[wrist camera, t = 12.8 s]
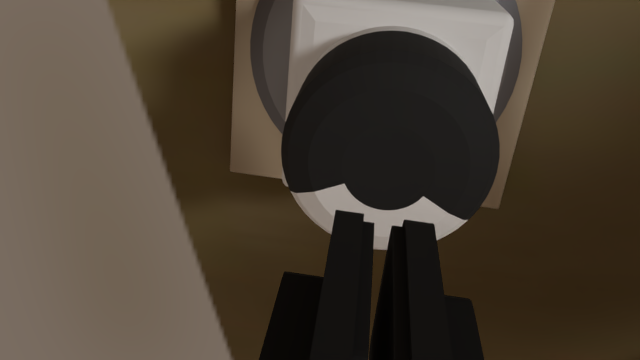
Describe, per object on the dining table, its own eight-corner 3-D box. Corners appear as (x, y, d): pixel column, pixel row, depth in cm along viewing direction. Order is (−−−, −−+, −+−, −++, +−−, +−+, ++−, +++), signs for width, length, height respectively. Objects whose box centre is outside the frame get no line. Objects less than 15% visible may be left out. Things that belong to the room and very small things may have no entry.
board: (571, -92, 25) (585, -91, 23) (494, 198, 31) (501, 216, 29) (247, -128, 25) (236, -131, 24) (235, 162, 32) (226, 178, 30)
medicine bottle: (317, -33, 25) (262, 18, 14) (485, -15, 24) (559, 51, 14) (304, 123, 28) (251, 262, 17) (453, 142, 28) (493, 295, 17)
